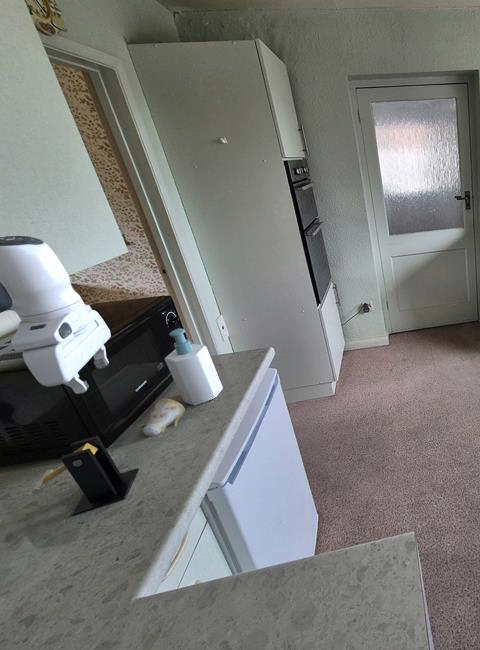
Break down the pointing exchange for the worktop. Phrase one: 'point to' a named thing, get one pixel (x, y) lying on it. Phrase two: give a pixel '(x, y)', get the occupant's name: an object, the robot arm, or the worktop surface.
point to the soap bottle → (193, 370)
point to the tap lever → (56, 471)
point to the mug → (163, 416)
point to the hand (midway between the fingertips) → (93, 378)
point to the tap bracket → (97, 476)
